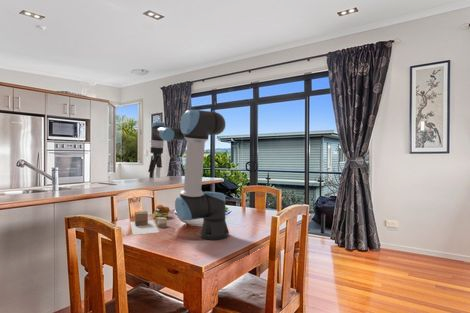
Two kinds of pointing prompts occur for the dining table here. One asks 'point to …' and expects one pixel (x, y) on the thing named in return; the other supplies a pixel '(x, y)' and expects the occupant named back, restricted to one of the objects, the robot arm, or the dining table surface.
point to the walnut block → (141, 218)
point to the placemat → (144, 228)
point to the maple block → (161, 222)
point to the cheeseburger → (161, 211)
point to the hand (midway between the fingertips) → (154, 179)
